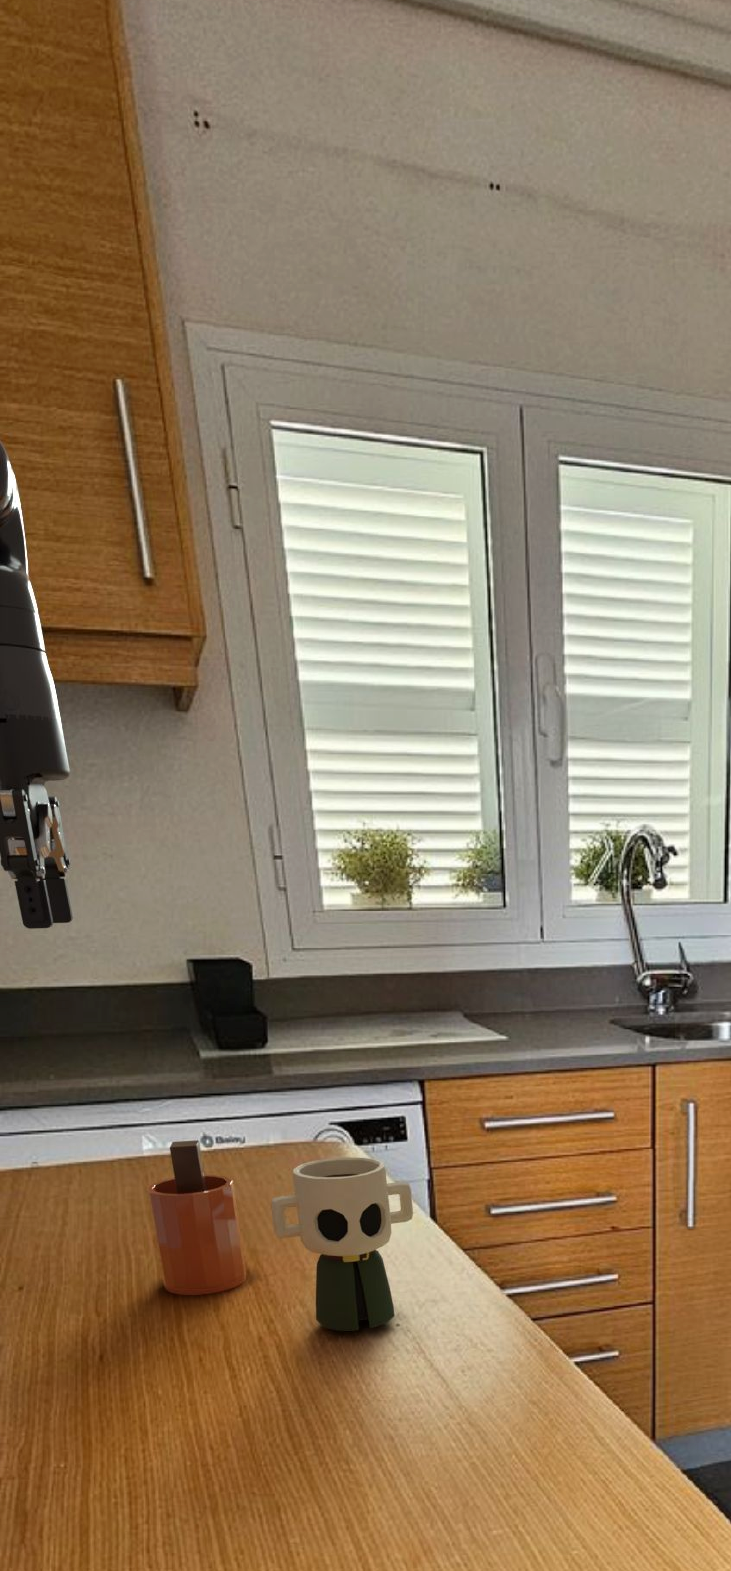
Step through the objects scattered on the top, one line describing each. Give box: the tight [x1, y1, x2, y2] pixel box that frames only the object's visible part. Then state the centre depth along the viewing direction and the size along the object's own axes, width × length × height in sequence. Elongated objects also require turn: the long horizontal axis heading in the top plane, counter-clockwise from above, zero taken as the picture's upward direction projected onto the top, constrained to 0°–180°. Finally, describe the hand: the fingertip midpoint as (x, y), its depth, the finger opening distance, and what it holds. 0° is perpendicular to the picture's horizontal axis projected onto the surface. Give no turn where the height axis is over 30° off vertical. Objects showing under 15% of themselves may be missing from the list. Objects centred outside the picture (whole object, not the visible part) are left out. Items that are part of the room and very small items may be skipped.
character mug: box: [270, 1156, 414, 1332], centre depth 95 cm, size 11×7×13 cm, turn 115°
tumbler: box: [146, 1174, 247, 1296], centre depth 106 cm, size 7×7×9 cm
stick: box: [169, 1139, 207, 1194], centre depth 105 cm, size 2×2×12 cm
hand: (49, 925), depth 103 cm, fingers open, 8 cm apart
